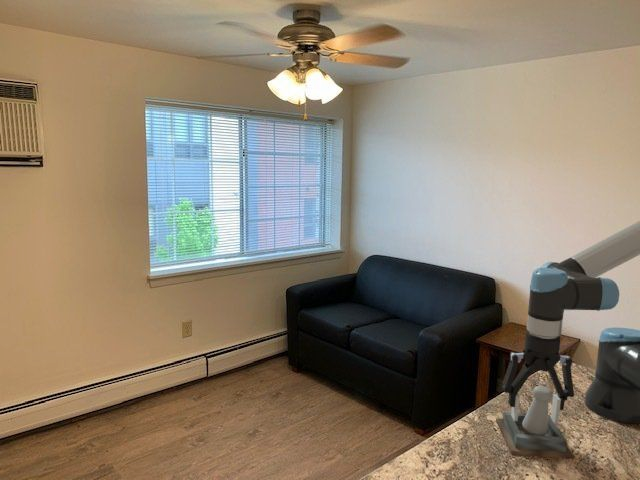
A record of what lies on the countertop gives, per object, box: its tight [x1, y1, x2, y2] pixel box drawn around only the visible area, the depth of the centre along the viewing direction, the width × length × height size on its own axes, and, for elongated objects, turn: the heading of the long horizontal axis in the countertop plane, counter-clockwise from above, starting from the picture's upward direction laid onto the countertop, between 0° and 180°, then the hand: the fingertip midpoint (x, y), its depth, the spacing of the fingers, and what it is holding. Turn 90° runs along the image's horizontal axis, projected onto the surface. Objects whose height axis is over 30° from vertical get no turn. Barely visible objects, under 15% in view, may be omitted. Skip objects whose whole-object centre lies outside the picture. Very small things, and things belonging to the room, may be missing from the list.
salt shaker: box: [522, 385, 554, 436], centre depth 114 cm, size 6×6×13 cm
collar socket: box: [495, 411, 575, 460], centre depth 116 cm, size 14×14×4 cm
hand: (534, 419), depth 115 cm, fingers open, 9 cm apart
